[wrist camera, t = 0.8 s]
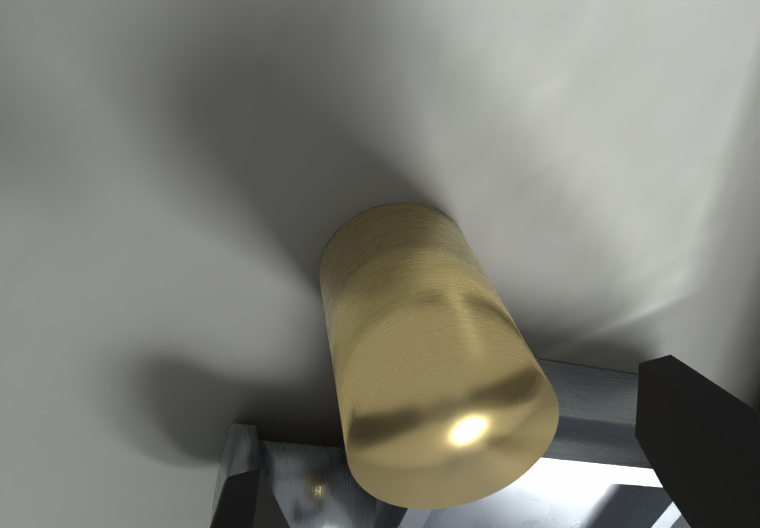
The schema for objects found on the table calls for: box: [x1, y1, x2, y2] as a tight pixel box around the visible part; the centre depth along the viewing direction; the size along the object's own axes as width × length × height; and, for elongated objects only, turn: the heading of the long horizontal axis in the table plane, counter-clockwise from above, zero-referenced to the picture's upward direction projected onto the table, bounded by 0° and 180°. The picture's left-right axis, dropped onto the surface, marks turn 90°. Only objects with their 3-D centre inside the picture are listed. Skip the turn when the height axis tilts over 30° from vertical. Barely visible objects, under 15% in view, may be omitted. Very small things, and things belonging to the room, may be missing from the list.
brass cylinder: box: [319, 203, 559, 509], centre depth 14 cm, size 4×4×6 cm
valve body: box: [211, 359, 691, 528], centre depth 20 cm, size 18×11×4 cm, turn 71°
